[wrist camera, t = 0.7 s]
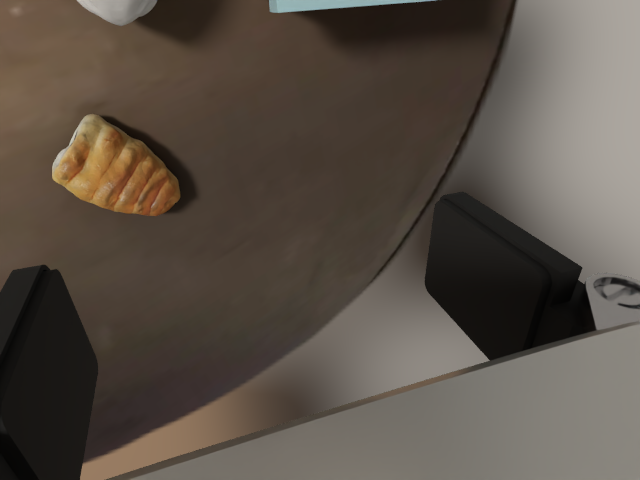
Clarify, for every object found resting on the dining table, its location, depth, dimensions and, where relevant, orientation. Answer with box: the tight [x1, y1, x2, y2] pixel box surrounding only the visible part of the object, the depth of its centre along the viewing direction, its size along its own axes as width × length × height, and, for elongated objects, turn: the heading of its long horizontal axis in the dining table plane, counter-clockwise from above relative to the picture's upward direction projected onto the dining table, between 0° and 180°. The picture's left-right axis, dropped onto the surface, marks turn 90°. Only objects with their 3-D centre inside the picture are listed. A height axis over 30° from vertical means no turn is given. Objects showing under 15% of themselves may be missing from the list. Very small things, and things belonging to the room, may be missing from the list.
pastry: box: [52, 114, 180, 216], centre depth 34 cm, size 9×7×4 cm
